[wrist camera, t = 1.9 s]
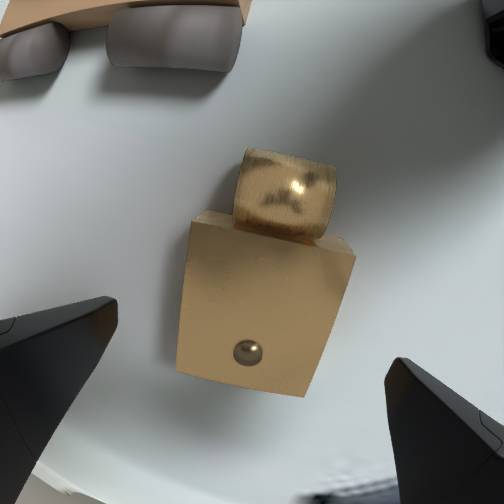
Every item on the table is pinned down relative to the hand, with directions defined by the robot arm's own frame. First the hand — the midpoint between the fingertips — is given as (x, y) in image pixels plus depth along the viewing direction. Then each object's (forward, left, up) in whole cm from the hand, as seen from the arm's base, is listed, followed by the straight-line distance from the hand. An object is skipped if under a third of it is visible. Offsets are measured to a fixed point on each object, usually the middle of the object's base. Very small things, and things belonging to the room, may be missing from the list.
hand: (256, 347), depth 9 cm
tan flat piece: (+10, -14, -5) cm, 18 cm away
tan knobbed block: (0, -1, -5) cm, 5 cm away
